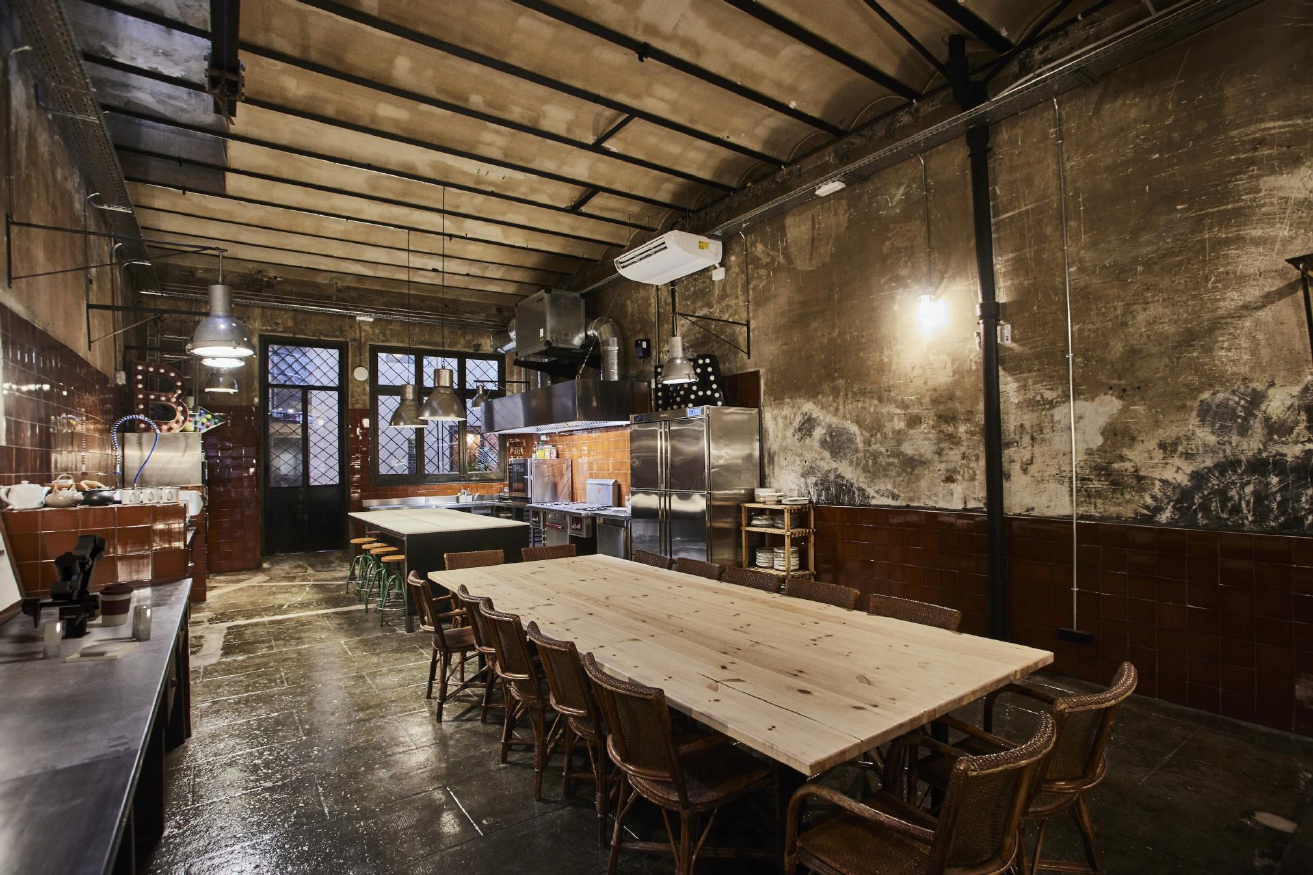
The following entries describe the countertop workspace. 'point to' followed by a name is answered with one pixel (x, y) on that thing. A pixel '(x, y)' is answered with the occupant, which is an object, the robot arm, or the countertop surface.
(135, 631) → the spacer
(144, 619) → the spacer
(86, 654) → the scale
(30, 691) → the countertop surface
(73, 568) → the robot arm
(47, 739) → the countertop surface
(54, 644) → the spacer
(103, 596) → the coffee cup
